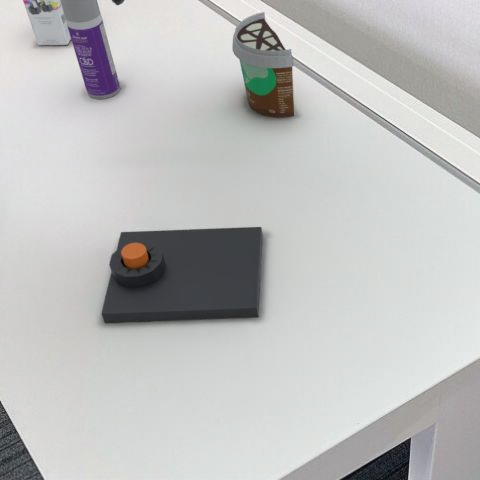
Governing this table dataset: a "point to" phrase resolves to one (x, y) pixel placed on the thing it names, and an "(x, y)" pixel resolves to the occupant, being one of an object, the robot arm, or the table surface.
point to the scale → (187, 276)
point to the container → (91, 47)
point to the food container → (264, 67)
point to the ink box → (48, 22)
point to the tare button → (135, 255)
